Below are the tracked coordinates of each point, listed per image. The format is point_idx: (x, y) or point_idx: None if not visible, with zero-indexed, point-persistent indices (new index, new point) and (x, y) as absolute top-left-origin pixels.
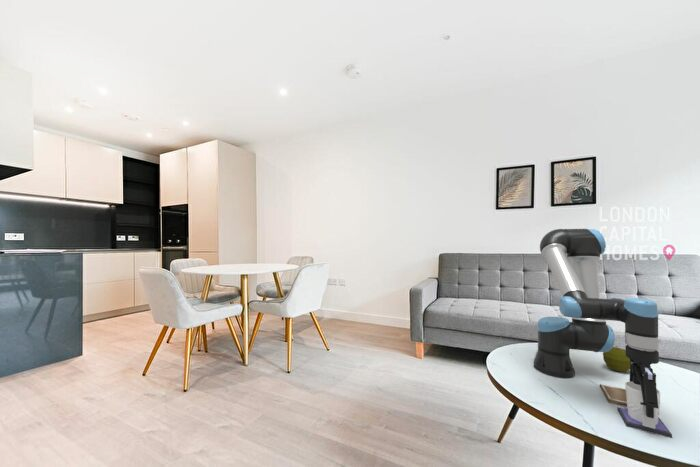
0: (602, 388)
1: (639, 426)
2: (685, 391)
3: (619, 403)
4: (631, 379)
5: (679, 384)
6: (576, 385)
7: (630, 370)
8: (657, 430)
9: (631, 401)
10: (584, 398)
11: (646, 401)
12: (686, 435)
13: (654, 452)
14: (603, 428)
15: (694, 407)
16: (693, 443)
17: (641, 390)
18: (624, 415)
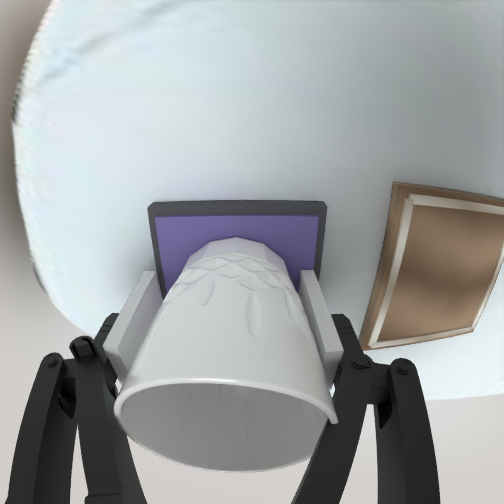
0: (492, 201)
1: (154, 254)
2: (479, 388)
3: (389, 231)
4: (395, 409)
5: (500, 380)
6: (494, 97)
7: (425, 474)
8: None
9: (172, 300)
10: (379, 69)
11: (40, 372)
12: None
13: (37, 249)
14: (72, 110)
15: None
16: None
17: (102, 423)
18: (220, 216)
